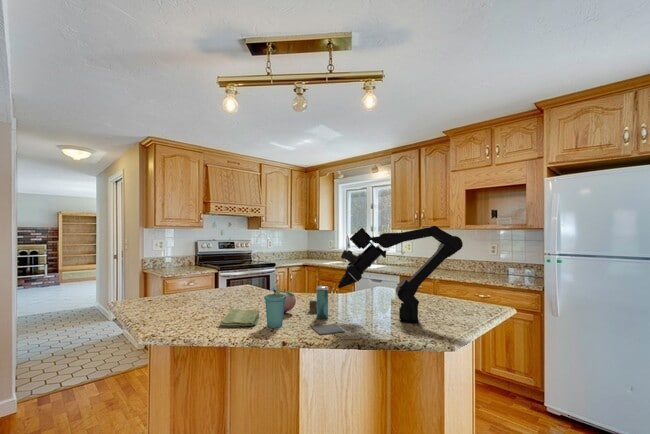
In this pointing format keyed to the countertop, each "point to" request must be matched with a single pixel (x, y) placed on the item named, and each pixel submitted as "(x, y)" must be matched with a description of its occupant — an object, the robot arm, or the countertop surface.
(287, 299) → the decorative fruit
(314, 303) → the letter block
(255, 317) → the washcloth
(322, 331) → the mat
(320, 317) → the tin
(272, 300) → the cup
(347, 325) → the countertop surface
